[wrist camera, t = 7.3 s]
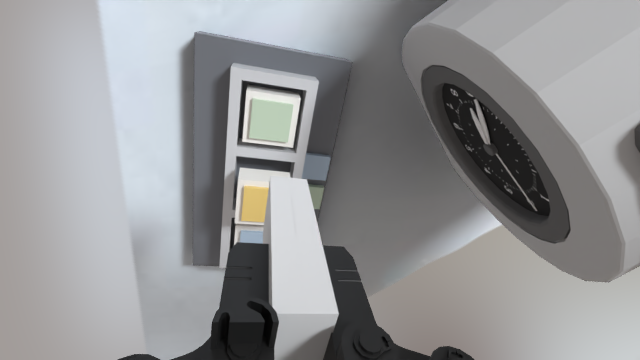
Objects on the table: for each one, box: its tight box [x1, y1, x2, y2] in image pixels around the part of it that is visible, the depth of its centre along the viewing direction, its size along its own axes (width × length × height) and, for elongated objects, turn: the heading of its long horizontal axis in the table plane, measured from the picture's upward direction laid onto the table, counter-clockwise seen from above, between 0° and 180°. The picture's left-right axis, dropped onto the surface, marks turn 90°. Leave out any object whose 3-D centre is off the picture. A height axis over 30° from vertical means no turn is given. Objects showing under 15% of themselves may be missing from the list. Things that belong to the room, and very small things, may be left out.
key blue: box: [234, 224, 264, 245], centre depth 30 cm, size 4×4×2 cm
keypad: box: [193, 31, 353, 268], centre depth 28 cm, size 22×12×4 cm, turn 169°
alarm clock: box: [401, 0, 640, 282], centre depth 21 cm, size 21×8×20 cm, turn 33°
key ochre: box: [235, 168, 291, 225], centre depth 25 cm, size 4×4×2 cm
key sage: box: [242, 85, 301, 148], centre depth 24 cm, size 4×4×2 cm
